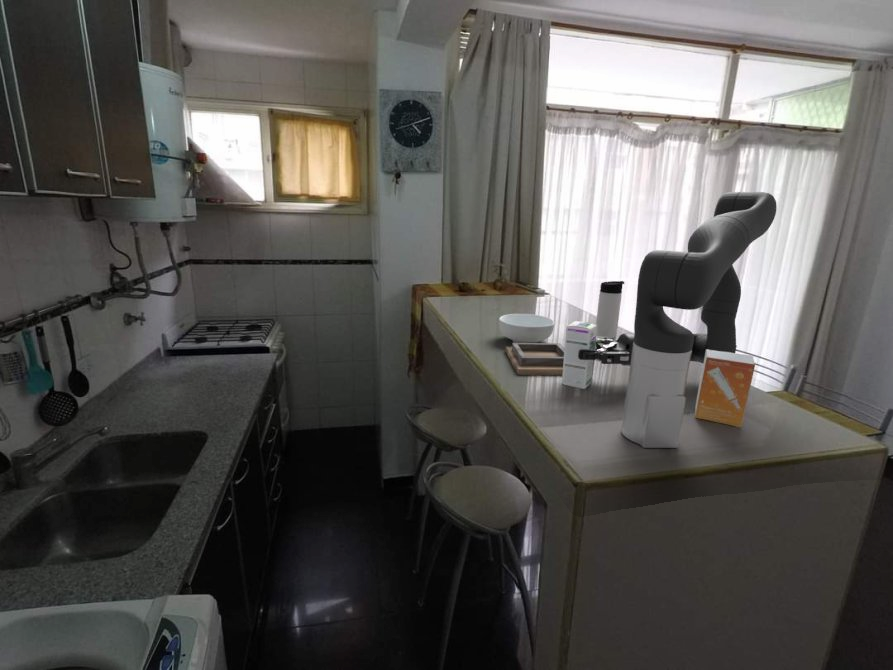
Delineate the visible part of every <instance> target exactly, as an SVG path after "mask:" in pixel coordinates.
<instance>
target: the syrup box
mask: <svg viewBox="0 0 893 670" xmlns="http://www.w3.org/2000/svg"><path fill="white" fill-rule="evenodd" d="M596 335H597V324H596V323H592V322H588V321H587V322H586V321H576V320H574V321H573V322H572V323H570V324H568V325H566V327H565V337H564V338H565V339H564V361H563V374H562V375H561V377H562V378H561V384H562V385H565V386H568V387H572V388H577V389H582V390H586V389H587V387H589V386H590V384H592V383H593V376H594V364H595V360H580V359H579V358H578V352H579V350H580V349H587V350H595V346H596Z"/></svg>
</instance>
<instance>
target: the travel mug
mask: <svg viewBox="0 0 893 670" xmlns="http://www.w3.org/2000/svg"><path fill="white" fill-rule="evenodd" d="M623 285H625V281H623V280H619V281H616V280H615V281H613V280H612V281H610V280H609V281H603V282H601V284H600V289H599V295H598V304H597V311H596V312H597V314H596V322H595V324H597V335H596V336H600V337H604V336H606V337H608V339H612V340H613V341H617V337H618V336H617V334H618V325H619V320H620V318H619V317H620V311H621V302H622V295H623Z"/></svg>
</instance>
